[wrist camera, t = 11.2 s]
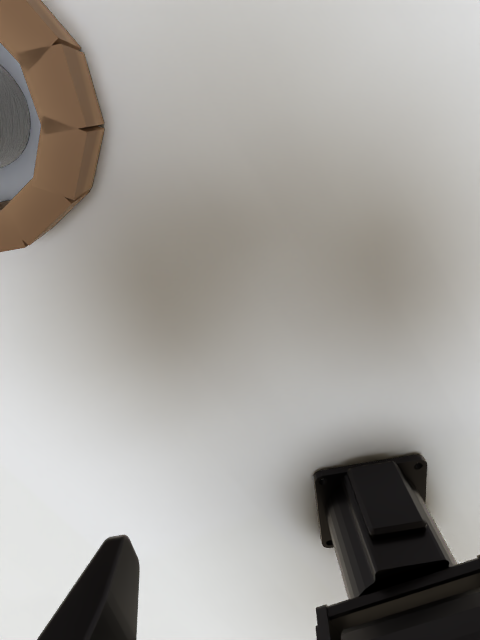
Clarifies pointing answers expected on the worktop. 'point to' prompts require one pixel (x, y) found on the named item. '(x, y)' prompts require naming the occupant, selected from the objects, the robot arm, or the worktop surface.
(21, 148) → the grey metal peg
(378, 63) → the worktop surface
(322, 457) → the worktop surface
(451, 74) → the worktop surface
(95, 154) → the brown segmented ring
